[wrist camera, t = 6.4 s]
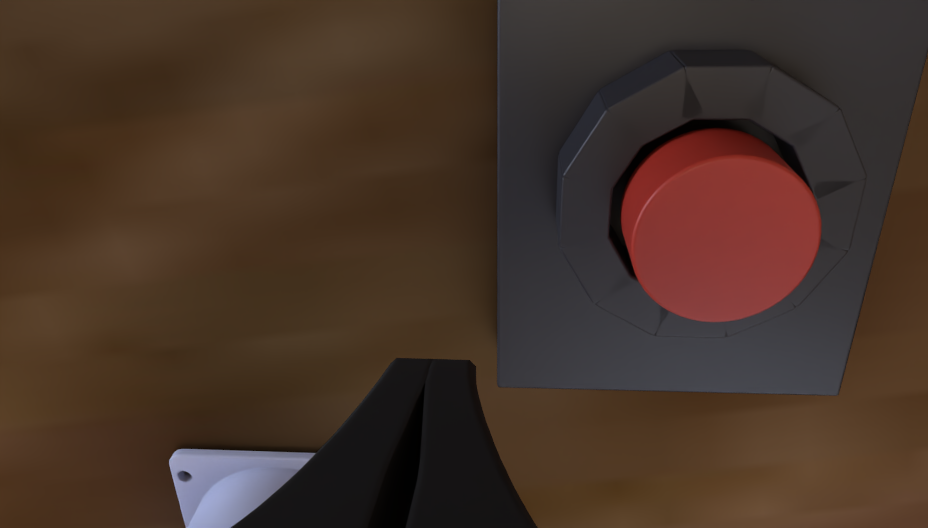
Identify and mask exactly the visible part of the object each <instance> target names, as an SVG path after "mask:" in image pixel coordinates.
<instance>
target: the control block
mask: <svg viewBox="0 0 928 528" xmlns="http://www.w3.org/2000/svg"><path fill="white" fill-rule="evenodd" d="M927 53H928V0H497V385H498V387H513V388H553V389H593V390H633V391H673V392H713V393H754V394H794V395H834V396H836V395H838V394H839V391H840V387H841V383H842V379H843V376H844V372H845V368H846V364H847V360H848V356H849V353H850V349H851V345H852V341H853V337H854V333H855V330H856V326H857V322H858V318H859V314H860V310H861V307H862V303H863V299H864V295H865V291H866V287H867V283H868V280H869V276H870V272H871V268H872V264H873V260H874V257H875V253H876V249H877V245H878V241H879V237H880V234H881V230H882V226H883V222H884V218H885V214H886V210H887V207H888V203H889V199H890V195H891V191H892V187H893V184H894V180H895V176H896V172H897V168H898V164H899V161H900V157H901V153H902V149H903V145H904V141H905V137H906V134H907V130H908V126H909V122H910V118H911V114H912V111H913V107H914V103H915V99H916V95H917V91H918V88H919V84H920V80H921V76H922V72H923V68H924V65H925V61H926V57H927ZM705 128H728V129H733V130H738V131H742V132H745V133H748V134H750V135H752V136H754V137H756V138H758V139H760V140H762V141H763V142H764V143H766V144H767V145H769V146H770V147H771V148H772V149H773V150H774V151H775V152H776V153H777V154H778V155H779V156H780V157H781V158H782V159H783V160H784V161H785V162H786V163H787V164H788V165H789V166H790V167H791V168H792V169H793V170H794V171H795V172H796V173H797V174H798V175H799V176H800V177H801V178H802V179H803V180H804V182H805V183H806V184H807V186H808V187H809V188H810V190H811V191H812V193H813V195H814V197H815V199H816V201H817V204H818V207H819V210H820V216H821V239H820V245H819V249H818V252H817V256H816V258H815V260H814V262H813V264H812V267H811V268H810V270H809V271H808V273H807V275H806V276H805V278H804V279H803V280H802V281H801V283H800V284H799V285H798V286H797V287H796V288H795V289H794V290H793V291H792V292H791V293H790V294H789V295H788V296H786V297H785V298H784V299H783V300H781V301H780V302H778V303H777V304H775V305H774V306H772V307H771V308H769V309H767V310H765V311H762V312H760V313H758V314H755V315H753V316H750V317H747V318H743V319H739V320H734V321H727V322H702V321H696V320H691V319H688V318H685V317H681V316H679V315H677V314H674V313H672V312H670V311H668V310H667V309H665V308H663V307H662V306H660V305H659V304H658V303H656V302H655V301H654V300H653V299H652V298H651V297H650V296H649V295H648V294H647V293H646V292H645V290H644V289H643V287H642V286H641V284H640V283H639V281H638V279H637V277H636V275H635V272H634V269H633V266H632V262H631V259H630V256H629V252H628V249H627V246H626V242H625V239H624V236H623V232H622V229H621V222H620V207H621V201H622V197H623V193H624V190H625V187H626V185H627V183H628V181H629V179H630V177H631V175H632V174H633V172H634V170H635V169H636V168H637V166H638V165H639V164H640V163H641V162H642V160H643V159H644V158H645V157H646V156H647V155H649V154H650V153H651V152H652V151H653V150H654V149H656V148H657V147H658V146H660V145H661V144H663V143H665V142H666V141H668V140H670V139H672V138H674V137H676V136H679V135H681V134H684V133H687V132H690V131H694V130H699V129H705Z"/></svg>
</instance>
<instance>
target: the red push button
mask: <svg viewBox="0 0 928 528" xmlns="http://www.w3.org/2000/svg"><path fill="white" fill-rule="evenodd" d="M620 222H621V229H622V232H623V236H624V239H625V242H626V246H627V249H628V252H629V256H630V259H631V262H632V266H633V269H634V272H635V275H636V277H637V279H638V281H639V283H640V284H641V286H642V287H643V289H644V290H645V292H646V293H647V294H648V295H649V296H650V297H651V298H652V299H653V300H654V301H655V302H656V303H658V304H659V305H660V306H662V307H663V308H665V309H667V310H668V311H670V312H672V313H674V314H677V315H679V316H681V317H685V318H688V319H691V320H696V321H702V322H727V321H734V320H739V319H743V318H747V317H750V316H753V315H755V314H758V313H760V312H762V311H765V310H767V309H769V308H771V307H772V306H774V305H775V304H777V303H778V302H780V301H781V300H783V299H784V298H785V297H786V296H788V295H789V294H790V293H791V292H792V291H793V290H794V289H795V288H796V287H797V286H798V285H799V284H800V283H801V281H802V280H803V279H804V278H805V276H806V275H807V273H808V271H809V270H810V268H811V267H812V264H813V262H814V260H815V258H816V256H817V252H818V249H819V245H820V239H821V216H820V210H819V207H818V204H817V201H816V199H815V197H814V195H813V193H812V191H811V190H810V188H809V187H808V186H807V184H806V183H805V182H804V180H803V179H802V178H801V177H800V176H799V175H798V174H797V173H796V172H795V171H794V170H793V169H792V168H791V167H790V166H789V165H788V164H787V163H786V162H785V161H784V160H783V159H782V158H781V157H780V156H779V155H778V154H777V153H776V152H775V151H774V150H773V149H772V148H771V147H770V146H769V145H767V144H766V143H764V142H763V141H762V140H760V139H758V138H756V137H754V136H752V135H750V134H748V133H745V132H742V131H738V130H733V129H728V128H705V129H699V130H694V131H690V132H687V133H684V134H681V135H679V136H676V137H674V138H672V139H670V140H668V141H666V142H665V143H663V144H661V145H660V146H658V147H657V148H656V149H654V150H653V151H652V152H651V153H650V154H649V155H647V156H646V157H645V158H644V159H643V160H642V162H641V163H640V164H639V165H638V166H637V168H636V169H635V170H634V172H633V174H632V175H631V177H630V179H629V181H628V183H627V185H626V187H625V190H624V193H623V197H622V201H621V207H620Z"/></svg>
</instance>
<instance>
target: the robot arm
mask: <svg viewBox="0 0 928 528" xmlns="http://www.w3.org/2000/svg"><path fill="white" fill-rule="evenodd" d="M169 465H170V469H171V473H172V477H173V481H174V484H175V488H176V492H177V496H178V500H179V503H180V507H181V511H182V515H183V519H184V522H185V526H186V528H537V526H536V524H535V523H534V521H533V520H532V518H531V516H530V515H529V513H528V511H527V509H526V508H525V506H524V504H523V503H522V501H521V499H520V497H519V495H518V493H517V492H516V490H515V488H514V486H513V484H512V482H511V480H510V478H509V476H508V474H507V471H506V469H505V467H504V465H503V463H502V461H501V459H500V456H499V454H498V452H497V449H496V447H495V444H494V442H493V439H492V436H491V434H490V431H489V428H488V426H487V423H486V420H485V417H484V414H483V411H482V407H481V403H480V399H479V395H478V391H477V385H476V366H475V365H474V364H473V363H472V362H471V361H470V360H447V359H412V358H396V359H395V360H394V361H393V362H392V363H391V364H390V365H389V367H388V368H387V369H386V371H385V372H384V374H383V375H382V376H381V378H380V379H379V380H378V382H377V383H376V384H375V386H374V387H373V388H372V390H371V391H370V392H369V393H368V395H367V396H366V397H365V398H364V400H363V401H362V402H361V403H360V405H359V406H358V407H357V408H356V409H355V411H354V412H353V413H352V414H351V415H350V416H349V418H348V419H347V420H346V421H345V422H344V423H343V425H342V426H341V427H340V428H339V429H338V430H337V432H336V433H335V434H334V435H333V436H332V437H331V438H330V439H329V440H328V441H327V442H326V443H325V444H324V445H323V446H322V447H321V448H320V450H319V451H318V452H317V453H300V452H269V451H238V450H206V449H178V450H177V451H175V452H174V454H173V455H172V457H171V458H170V460H169ZM184 471H186V472H188V473H190V474H187V473H185V472H184Z"/></svg>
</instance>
